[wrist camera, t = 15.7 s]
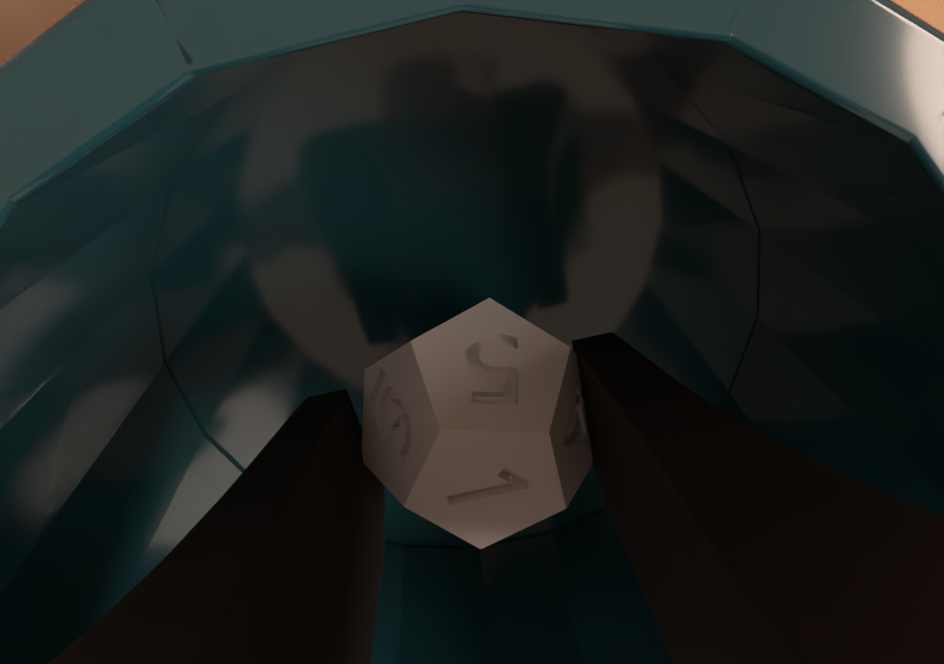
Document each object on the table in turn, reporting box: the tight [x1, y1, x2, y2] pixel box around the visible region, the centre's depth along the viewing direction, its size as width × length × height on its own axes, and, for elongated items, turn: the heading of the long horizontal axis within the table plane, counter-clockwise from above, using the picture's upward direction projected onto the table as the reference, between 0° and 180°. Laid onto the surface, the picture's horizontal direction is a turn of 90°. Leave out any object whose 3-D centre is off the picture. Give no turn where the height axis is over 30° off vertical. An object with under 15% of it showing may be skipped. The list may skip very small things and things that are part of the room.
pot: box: [0, 0, 944, 664], centre depth 9 cm, size 12×12×6 cm
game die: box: [361, 298, 593, 549], centre depth 9 cm, size 4×4×3 cm
